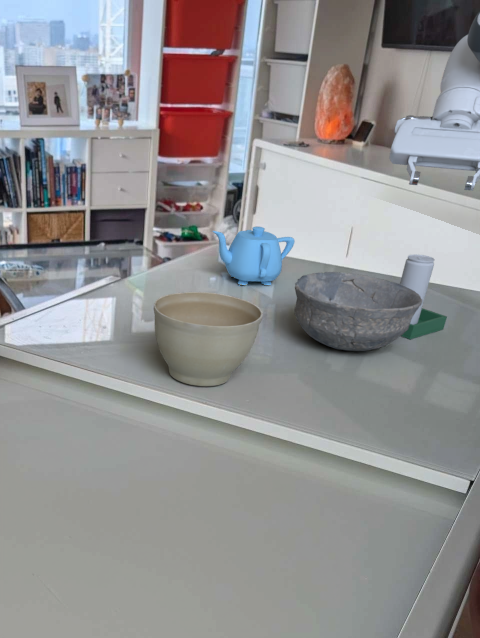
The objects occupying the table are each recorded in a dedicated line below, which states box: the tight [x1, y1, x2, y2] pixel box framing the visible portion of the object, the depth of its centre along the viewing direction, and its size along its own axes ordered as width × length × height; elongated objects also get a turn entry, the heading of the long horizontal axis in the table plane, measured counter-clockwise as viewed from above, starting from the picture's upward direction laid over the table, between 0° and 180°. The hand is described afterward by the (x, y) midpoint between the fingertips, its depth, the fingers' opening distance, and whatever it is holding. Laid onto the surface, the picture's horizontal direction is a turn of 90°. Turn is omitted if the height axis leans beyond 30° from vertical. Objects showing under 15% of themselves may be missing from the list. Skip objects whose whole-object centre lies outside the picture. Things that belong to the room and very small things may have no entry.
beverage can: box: [399, 254, 435, 325], centre depth 138 cm, size 5×5×12 cm
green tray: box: [400, 307, 448, 340], centre depth 141 cm, size 10×10×2 cm
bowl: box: [294, 271, 422, 352], centre depth 129 cm, size 21×21×10 cm
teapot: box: [211, 226, 296, 286], centre depth 159 cm, size 13×14×11 cm
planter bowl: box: [153, 291, 264, 387], centre depth 116 cm, size 16×16×11 cm
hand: (441, 185), depth 136 cm, fingers open, 8 cm apart
